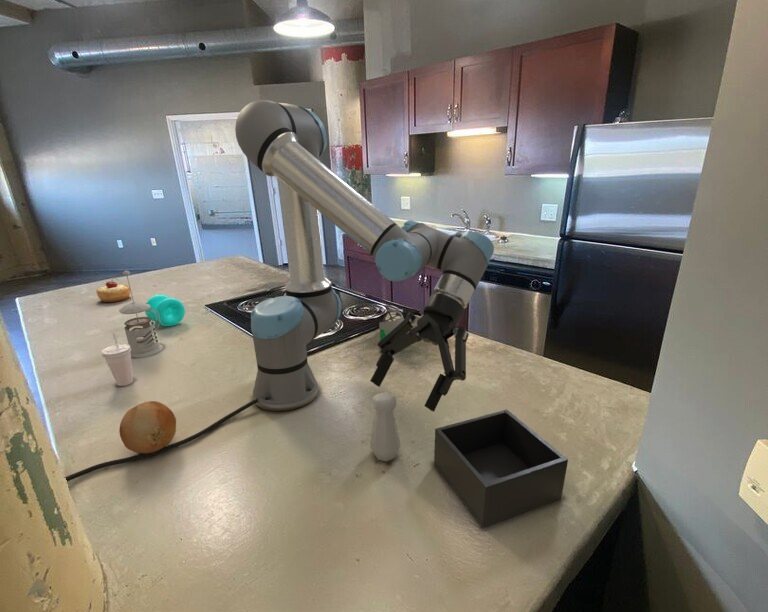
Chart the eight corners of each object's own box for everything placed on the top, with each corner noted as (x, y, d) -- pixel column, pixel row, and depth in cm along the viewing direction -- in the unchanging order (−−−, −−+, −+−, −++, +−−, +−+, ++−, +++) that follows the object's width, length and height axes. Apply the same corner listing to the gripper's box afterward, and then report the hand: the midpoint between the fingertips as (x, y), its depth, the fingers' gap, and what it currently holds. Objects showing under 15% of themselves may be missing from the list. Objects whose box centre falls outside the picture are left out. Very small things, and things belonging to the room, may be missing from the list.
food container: (400, 356, 120) (400, 324, 117) (379, 354, 121) (379, 322, 118) (406, 339, 132) (407, 309, 128) (387, 337, 133) (387, 308, 129)
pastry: (92, 303, 172) (86, 282, 168) (113, 294, 182) (108, 274, 179) (117, 304, 170) (112, 283, 166) (138, 295, 180) (133, 275, 177)
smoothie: (144, 379, 110) (132, 330, 105) (121, 390, 105) (107, 339, 100) (128, 374, 113) (115, 326, 108) (105, 385, 107) (90, 335, 102)
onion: (144, 471, 77) (131, 426, 73) (116, 453, 82) (102, 410, 78) (191, 442, 85) (181, 400, 81) (162, 427, 90) (152, 387, 86)
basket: (482, 528, 64) (485, 487, 61) (433, 464, 77) (434, 428, 74) (561, 498, 69) (568, 459, 66) (503, 443, 83) (506, 409, 80)
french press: (119, 354, 125) (97, 273, 116) (152, 339, 135) (134, 264, 126) (142, 359, 121) (121, 276, 112) (175, 344, 131) (158, 266, 122)
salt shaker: (369, 445, 83) (367, 388, 78) (398, 443, 83) (398, 386, 79) (371, 465, 77) (369, 405, 73) (402, 463, 78) (401, 403, 73)
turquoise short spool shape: (173, 316, 155) (168, 290, 151) (188, 321, 149) (183, 295, 146) (146, 324, 147) (140, 298, 144) (161, 330, 142) (154, 303, 138)
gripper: (510, 324, 79) (463, 427, 74) (409, 298, 95) (364, 381, 90) (499, 305, 73) (447, 414, 68) (393, 281, 89) (345, 368, 84)
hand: (400, 395), depth 79 cm, fingers open, 13 cm apart
